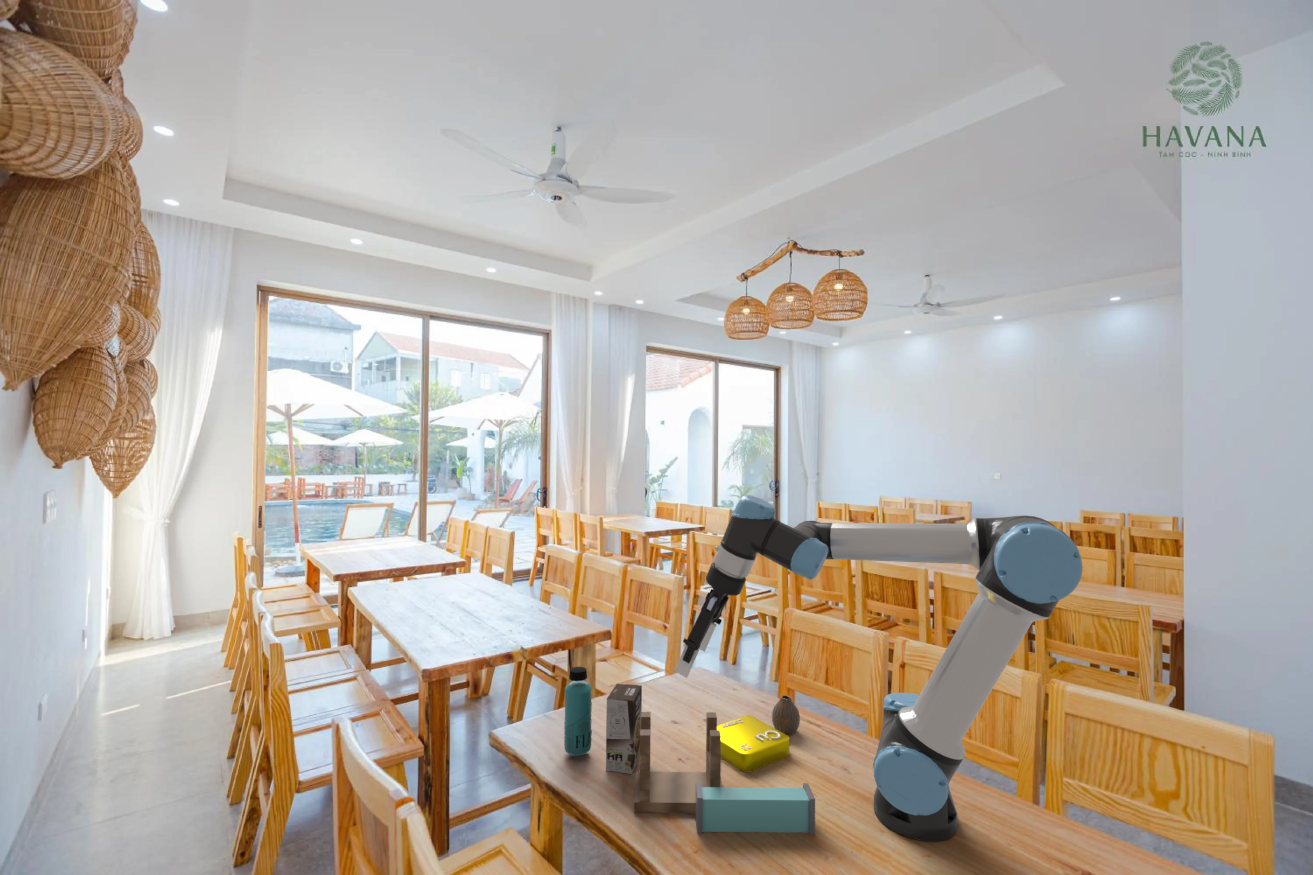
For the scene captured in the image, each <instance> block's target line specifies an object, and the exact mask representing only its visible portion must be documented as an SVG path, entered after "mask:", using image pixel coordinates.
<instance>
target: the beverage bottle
mask: <svg viewBox="0 0 1313 875" xmlns="http://www.w3.org/2000/svg"><path fill="white" fill-rule="evenodd" d="M587 678H588V673H587V668H586V667H584V666H574V667H571V668H570V669H569V677H568V679H569V680H571V681H570V682H569V683H568V684H567V685H566V686H565V688H564V723H563V724H564V725H563V726H564V733H563V735H564V737H563V739H564V740H563V741H564V742H563V746H564V747H563V748H564V752H566V754H568V755H571V756H582V755H584V754H587V753H588V752H589V751H590V750H591V748H592V742H593V741H592V739H593V738H592V736H593V734H592V732H593V730H592V709H593V704H592V703H593V702H592V685H591V684H590V683H589V682H587V681H585V680H587Z"/></svg>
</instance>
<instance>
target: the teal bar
mask: <svg viewBox="0 0 1313 875" xmlns="http://www.w3.org/2000/svg"><path fill="white" fill-rule="evenodd" d="M694 815H695V825H696V826H695V827H696V833H697V834H703V832H713V833H714V832H716V833H717V832H720V833H721V832H727V833H729V832H731V833H735V832H736V833H739V832H742V833H744V832H745V833H808V834H809V835H811V836H812V835H816V798H815V796H814V793H813V791H812V789H811V787H810V784H809V782H805V783H802V787H733V786H732V787H729V786H727V787H701V782H696V803H695V813H694Z"/></svg>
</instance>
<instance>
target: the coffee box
mask: <svg viewBox="0 0 1313 875" xmlns="http://www.w3.org/2000/svg"><path fill="white" fill-rule="evenodd" d="M642 688H643V685H639V684H627V683H626V684H624V683H622V684H621V683H616V684H615V686H614V687H613V688H612V690H611V692H610V693H609V695H608V696H607V698H606V720H605V721H606V726H605V727H606V730H605V734H606V735H605V741H606V743H605V771H607V772H614V773H622V774H629V775H632V774H633V773H634V770H635V768H636V766H637V764H638V762H639V761H640V729H641V712H643V711H642V705H643V703H642V702H643V700H642V698H643V694H642V693H643V690H642Z"/></svg>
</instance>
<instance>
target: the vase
mask: <svg viewBox="0 0 1313 875" xmlns="http://www.w3.org/2000/svg"><path fill="white" fill-rule="evenodd" d="M793 701H794V700H792V697H791V696H789V695H781V696H780V699H779V700H778V701H777V702H776V703H775V705H774V706H773V709H772V713H771V721H772V722H771V723H772V727H773V728H775V729H777V730H778V731H780V732H782V733H784V734H786V735H787V736H788V737H789V736H792V735H794V734H796V733H797V731H798V730H799V727H800V724H801V717H800V712H799V709H798V707H797V706H796V704H795V703H794V702H793Z"/></svg>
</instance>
